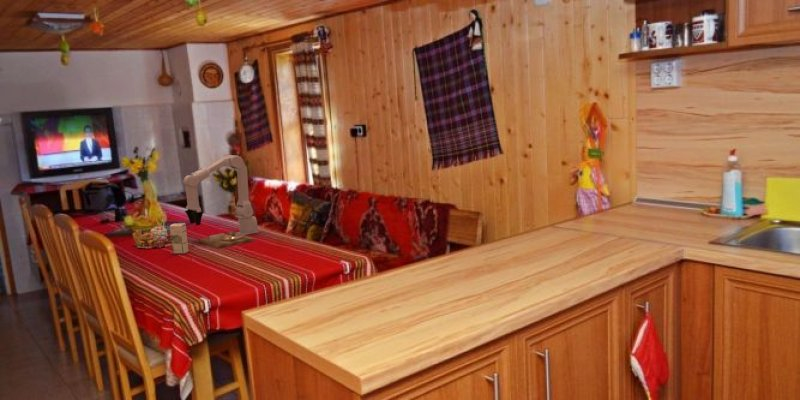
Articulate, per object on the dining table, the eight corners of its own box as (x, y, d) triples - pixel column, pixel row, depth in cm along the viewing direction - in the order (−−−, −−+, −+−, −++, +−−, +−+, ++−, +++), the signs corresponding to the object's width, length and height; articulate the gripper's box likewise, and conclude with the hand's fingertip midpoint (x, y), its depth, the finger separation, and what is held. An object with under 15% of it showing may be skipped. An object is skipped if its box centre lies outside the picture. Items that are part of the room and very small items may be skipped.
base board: (235, 235, 342) (235, 232, 341) (254, 241, 325) (253, 238, 325) (200, 241, 329) (199, 239, 329) (217, 248, 312) (217, 245, 312)
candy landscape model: (150, 252, 314) (148, 234, 312) (125, 246, 328) (123, 229, 326) (193, 241, 333) (191, 224, 332) (168, 236, 348) (166, 220, 346)
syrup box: (188, 251, 310) (185, 222, 308) (183, 254, 305) (180, 225, 302) (178, 251, 311) (174, 222, 309) (172, 254, 305) (169, 225, 303)
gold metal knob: (231, 240, 321) (230, 234, 321) (232, 241, 320) (232, 235, 319) (228, 241, 320) (227, 235, 320) (229, 242, 319) (229, 235, 318)
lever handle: (237, 235, 334) (236, 228, 334) (246, 238, 326) (245, 231, 325) (205, 241, 323) (204, 234, 323) (214, 244, 315) (213, 237, 314)
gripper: (179, 198, 326) (182, 223, 329) (190, 201, 315) (193, 227, 318) (193, 196, 331) (195, 221, 333) (203, 199, 320) (206, 224, 322)
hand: (195, 224), depth 326 cm, fingers open, 7 cm apart
